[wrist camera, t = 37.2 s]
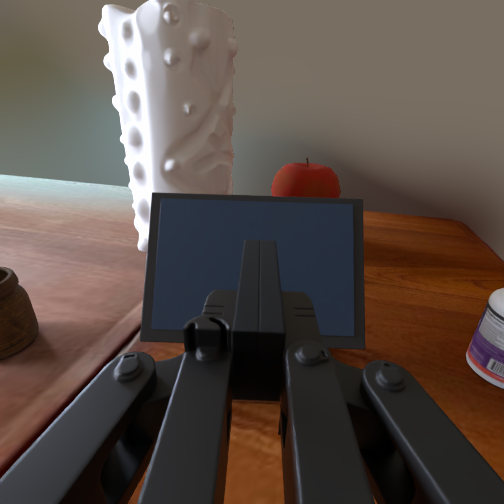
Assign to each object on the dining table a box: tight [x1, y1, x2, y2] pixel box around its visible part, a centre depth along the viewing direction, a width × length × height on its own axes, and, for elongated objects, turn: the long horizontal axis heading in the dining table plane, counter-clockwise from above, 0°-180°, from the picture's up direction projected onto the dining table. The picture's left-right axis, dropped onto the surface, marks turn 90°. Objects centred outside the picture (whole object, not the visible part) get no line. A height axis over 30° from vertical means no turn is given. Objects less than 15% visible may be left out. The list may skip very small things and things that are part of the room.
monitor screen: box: [140, 192, 365, 349], centre depth 22 cm, size 1×16×11 cm
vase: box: [98, 0, 238, 253], centre depth 46 cm, size 17×16×32 cm
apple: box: [271, 158, 341, 198], centre depth 54 cm, size 12×12×14 cm
